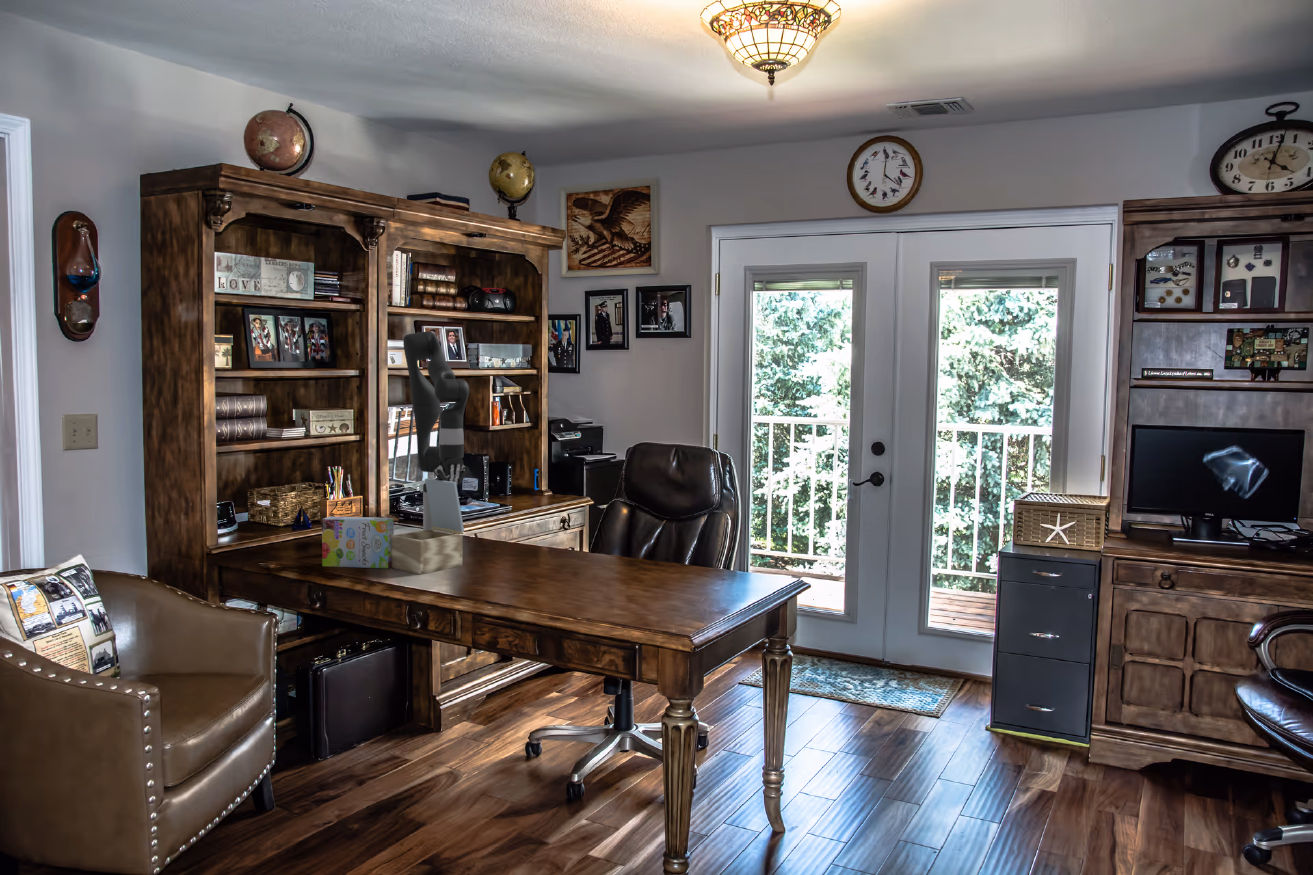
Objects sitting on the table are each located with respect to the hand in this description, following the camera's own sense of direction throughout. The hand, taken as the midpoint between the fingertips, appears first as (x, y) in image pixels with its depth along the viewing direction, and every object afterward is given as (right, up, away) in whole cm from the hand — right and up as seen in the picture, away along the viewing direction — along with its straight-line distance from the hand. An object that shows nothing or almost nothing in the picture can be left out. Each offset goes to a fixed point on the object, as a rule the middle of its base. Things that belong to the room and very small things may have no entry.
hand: (451, 497), depth 295 cm
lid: (-2, -3, -2) cm, 4 cm away
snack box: (-27, -21, -5) cm, 35 cm away
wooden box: (-6, -21, -6) cm, 23 cm away
